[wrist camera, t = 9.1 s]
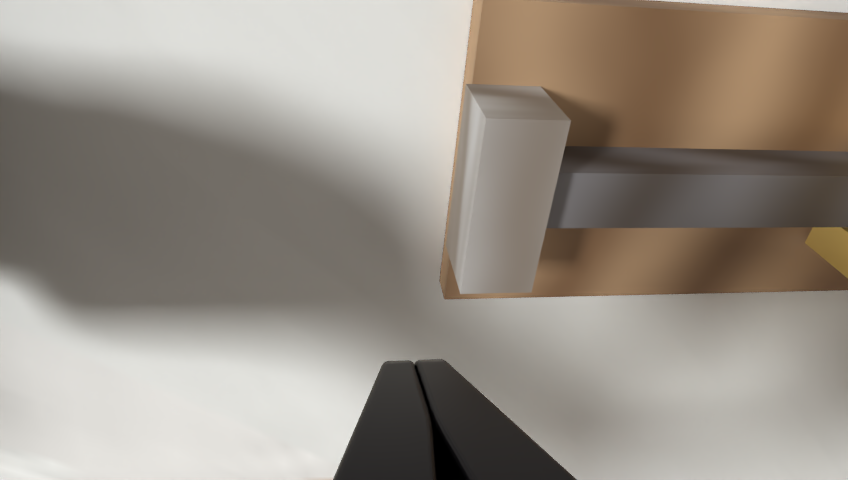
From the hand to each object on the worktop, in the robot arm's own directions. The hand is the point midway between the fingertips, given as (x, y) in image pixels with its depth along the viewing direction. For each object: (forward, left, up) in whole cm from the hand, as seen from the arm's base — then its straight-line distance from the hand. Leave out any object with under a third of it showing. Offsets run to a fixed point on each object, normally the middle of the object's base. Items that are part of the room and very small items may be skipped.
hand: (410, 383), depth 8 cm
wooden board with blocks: (+8, -13, -13) cm, 20 cm away
